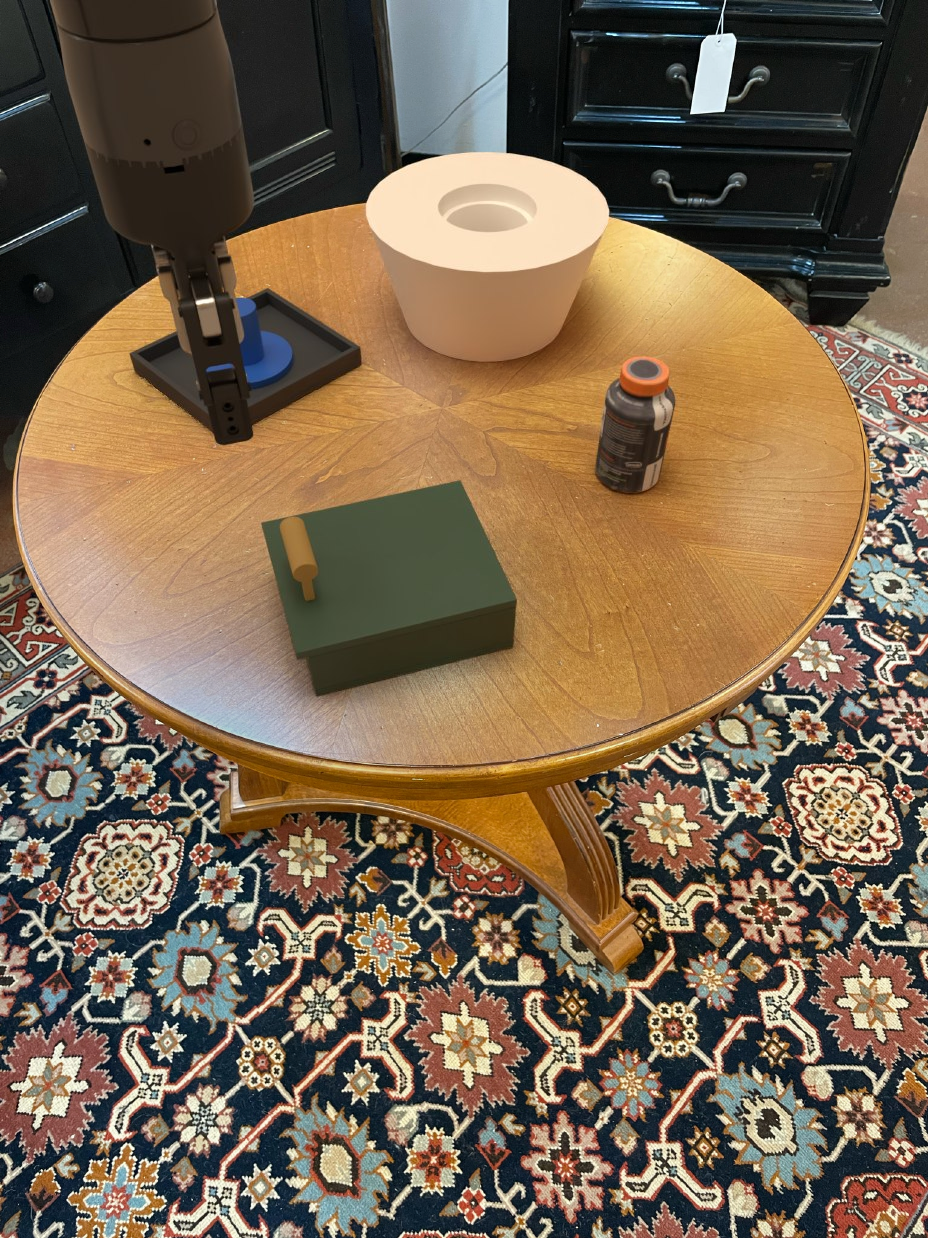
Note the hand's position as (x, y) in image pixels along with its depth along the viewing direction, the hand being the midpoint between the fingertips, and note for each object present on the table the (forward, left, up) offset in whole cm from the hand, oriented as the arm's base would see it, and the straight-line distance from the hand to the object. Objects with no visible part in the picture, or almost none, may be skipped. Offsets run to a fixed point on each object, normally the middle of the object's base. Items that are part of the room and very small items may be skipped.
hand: (223, 396), depth 58 cm
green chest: (+8, -5, -22) cm, 24 cm away
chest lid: (+8, -5, -17) cm, 19 cm away
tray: (+19, +29, -22) cm, 41 cm away
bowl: (+43, +19, -22) cm, 52 cm away
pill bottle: (+34, -8, -22) cm, 41 cm away
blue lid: (+19, +29, -22) cm, 41 cm away
